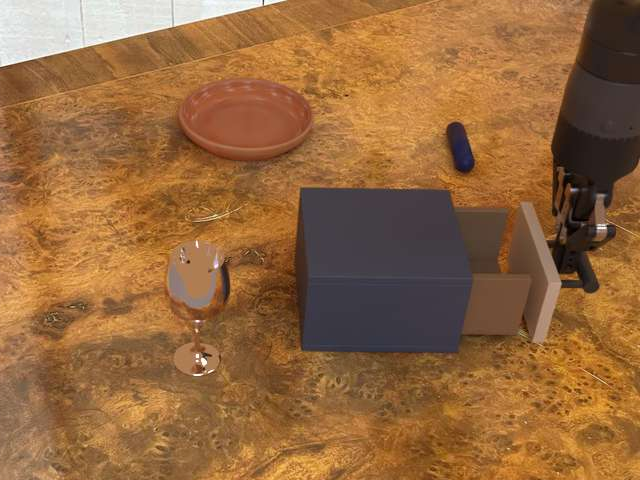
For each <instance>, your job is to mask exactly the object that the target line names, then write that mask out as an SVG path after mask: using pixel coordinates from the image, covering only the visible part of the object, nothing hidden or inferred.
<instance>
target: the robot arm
mask: <svg viewBox="0 0 640 480" xmlns="http://www.w3.org/2000/svg"><path fill="white" fill-rule="evenodd" d="M582 28H583V29H582V31H581V36H580V40H579V45H578V48H577V51H576V56H575V59H574V62H573V64H572V67H571V69H570V71H569V74H568V77H567V80H566V83H565V87H564V92H563V96H562V99H561V103H560V107H559V111H558V115H557V119H556V123H555V127H554V131H553V135H552V139H551V142H550V151H551V155H552V192H551V193H552V194H551V195H552V196H551V215H552V217H553V218H556V219H555V225H554V231H555V234H556V236H555V239H554V240H555V243H554V247H553V248H552V250H551V255H552V258H553V261H554V263H555V266H556V269H557V271H558V274H559V275H573V274H575V273H577V272H576V269H577V266H578V263H579V259H580V256H581V252H582V251H586V252H595V251H597V250H599V249H600V248H602V247H603V246H605V245H606V244H608V243H609V242H611V241H612V240H614V239H615V238H616V234H617V226H616V225H615V224H610V222H607V215H606V213H607V211H606V210H607V209H609V208H610V206H611V205H612V202H613V198H614V195H615V188H616V187H615V184H616V183H617V182H618V181H619V180H621V179H622V178H624V177H626V176H628V175H630V174H631V173H632V172H634V171H635V170H636V169H637V168H638V166H639V163H640V0H590V4H589V7H588V9H587V12H586V16H585V20H584V24H583V27H582Z"/></svg>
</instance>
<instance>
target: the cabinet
mask: <svg viewBox="0 0 640 480" xmlns="http://www.w3.org/2000/svg"><path fill="white" fill-rule="evenodd" d="M298 197H299V198H298V211H297V221H296V222H297V223H296V238H295V251H294V265H295V266H294V270H295V282H296V294H297V308H298V322H299V333H300V334H299V335H300V345H301V346H300V348H301V352H337V353H339V352H341V353H342V352H343V353H344V352H345V353H346V352H349V353H350V352H351V353H352V352H353V353H420V354H423V353H426V354H427V353H428V354H435V353H436V354H458V352H459V346H460V344H461V343H460V342H461V339H462V335H463V334H462V329H463V325H464V320H465V316H466V311H467V307H468V302H469V298H470V293H471V289H472V284H473V279H474V278H473V275H472V271H471V267H470V264H469V260H468V256H467V253H466V249H465V245H464V242H463V238H462V234H461V231H460V227H459V223H458V220H457V216H456V212H455V209H454V207H455V206H454V205H455V204H454V201H453V197H452V194H451V191H450V189H439V188H438V189H435V188H433V189H431V188H430V189H429V188H379V187H377V188H376V187H375V188H374V187H366V188H365V187H315V186H311V187H309V186H307V187H306V186H304V187H303V186H300V187H299V196H298Z"/></svg>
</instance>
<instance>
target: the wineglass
mask: <svg viewBox="0 0 640 480" xmlns="http://www.w3.org/2000/svg"><path fill="white" fill-rule="evenodd" d="M165 268H166V269H165V273H164V278H163V294H164V299H165V302H166V304H167V305H166V306H168V309H169V310H170V311H171V312H172V314H174V316H176V317H177V318H179V319H181V320H183V321H185V322H188V323H191V324H190V325H191V327H192V329H193V334H194V341H191V342H187V343H184V344H182V345H181V346H179V347H178V348H176V350H175V351H174V353H173V356H172V362H173V365H174V367H175V368H176V369H177V370H178V371H179V372H181V373H183V374H185V375H187V376H191V377H201V376H208V375H209V374H212V373H214V372H215V371H216V370H218V369H219V367H220V365H221V363H222V354H221V352H220V351H219V349H218V348H216V346H214V345H213V344H211V343H208V342H204V341H201V339H200V338H201V337H200V335H201V330H202V327H203V324H204V323H206V322H209V321H212V320H214V319H216V318H217V317H219V316H220V315H221V314H222V313H223V312H224V310H225V309H226V308H227V305H228V303H229V300H230V295H231V278H230V272H229V267H228V264H227V260H226V256H225V254H224V251H223V250H222V249H221V248H220V247H219V246H218V245H216V244H214V243H212V242H209V241H205V240H189V241H186V242H182V243H180V244H178V245H176V246H175V247H174V248H173V249H172V251H171V252H170V255H169V257H168V261H167V265H166V267H165Z"/></svg>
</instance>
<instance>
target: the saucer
mask: <svg viewBox="0 0 640 480" xmlns="http://www.w3.org/2000/svg"><path fill="white" fill-rule="evenodd" d="M178 119H179V123H180V126H181V129H182V131H183V132H184V133H185V135H186V136H187V137H188V138H189V139H190V140H191V141H192V142H194V143H195V144H196V145H198V146H199V147H200V148H202V149H204V150H205V151H207V152H209V153H211V154H212V155H214V156H215V155H216V156H218V157H221V158H224V159H228V160H233V161H240V162H241V161H243V162H256V161H257V162H258V161H264V160H270V159H272V158H273V159H274V158H276V157H279V156H281V155H283V154H285V153H287V152H289V151H290V150H293V149H294V148H296V147H297V146H298V145H300V144H301V143H303V142H304V141H305V140H306V139H307V138H308V136H309V135H310V134H311V131H312V129H313V126H314V121H315V114H314V109H313V107H312V105H311V104H310V102H309V101H308V99H306V97H304V96H303V95H302V94H301V93H299V92H298V91H297V90H295V89H293V88H291V87H289V86H287V85H285V84H282V83H279V82H276V81H273V80H269V79H264V78H257V77H256V78H255V77H230V78H223V79H217V80H213V81H211V82H208V83H204V84H202V85H200V86H198V87H197V88H195V89H194V90H192V91H191V92H189V93H188V94H186V96H185V97H184V98H183V100H182V101H181V102H180V105H179V108H178Z"/></svg>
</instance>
